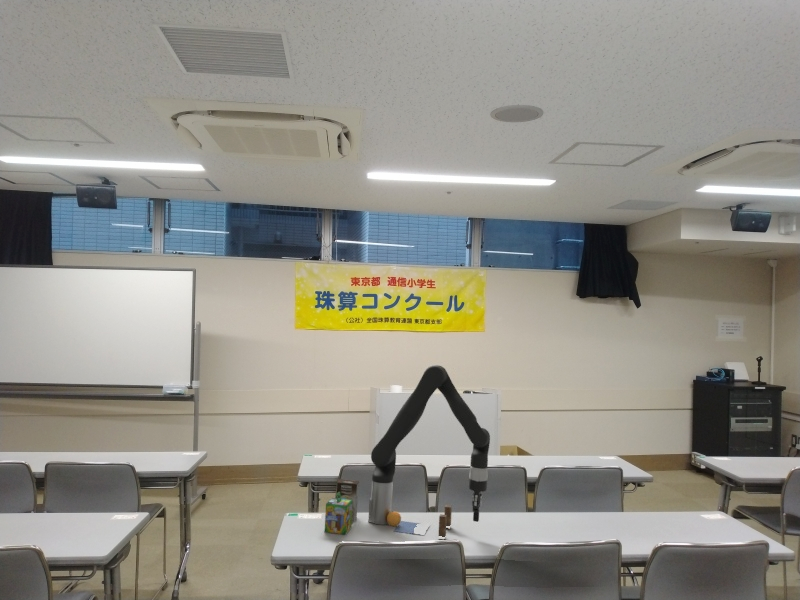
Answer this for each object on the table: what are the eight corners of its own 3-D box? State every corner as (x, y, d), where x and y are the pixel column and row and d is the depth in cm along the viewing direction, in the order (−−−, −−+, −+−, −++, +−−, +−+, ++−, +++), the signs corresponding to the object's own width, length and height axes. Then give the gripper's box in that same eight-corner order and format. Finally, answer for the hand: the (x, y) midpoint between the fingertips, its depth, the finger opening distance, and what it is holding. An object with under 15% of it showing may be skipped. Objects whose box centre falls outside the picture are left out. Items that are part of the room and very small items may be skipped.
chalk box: (345, 535, 204) (347, 497, 206) (323, 532, 206) (326, 495, 207) (352, 527, 213) (354, 491, 215) (331, 525, 215) (333, 489, 216)
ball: (384, 525, 216) (386, 511, 216) (387, 521, 222) (390, 507, 222) (397, 530, 214) (400, 515, 214) (400, 525, 220) (403, 511, 220)
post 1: (438, 539, 205) (439, 516, 206) (439, 537, 208) (440, 514, 208) (444, 540, 204) (445, 517, 205) (445, 537, 207) (446, 515, 208)
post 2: (443, 528, 218) (444, 506, 218) (444, 526, 220) (445, 505, 221) (449, 529, 217) (450, 507, 218) (450, 527, 219) (451, 505, 220)
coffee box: (333, 520, 221) (336, 482, 222) (337, 515, 227) (339, 478, 229) (354, 522, 220) (356, 483, 221) (357, 517, 226) (359, 480, 228)
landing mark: (393, 531, 211) (393, 530, 211) (401, 521, 224) (401, 520, 224) (423, 535, 208) (424, 535, 208) (430, 525, 220) (430, 525, 220)
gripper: (471, 473, 218) (468, 514, 217) (467, 480, 206) (464, 524, 204) (488, 475, 217) (486, 517, 215) (485, 483, 204) (483, 527, 202)
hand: (475, 520), depth 210 cm, fingers closed
